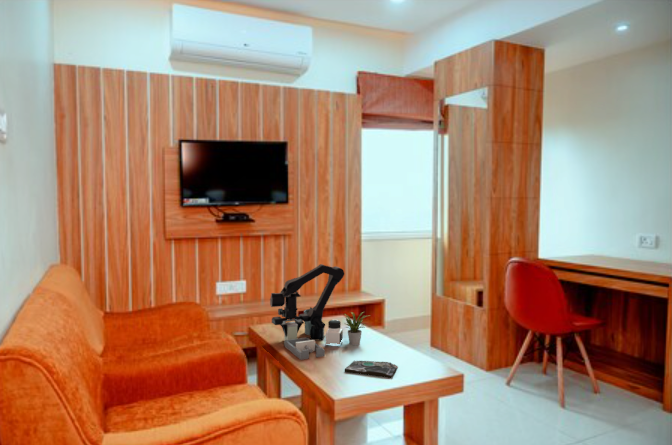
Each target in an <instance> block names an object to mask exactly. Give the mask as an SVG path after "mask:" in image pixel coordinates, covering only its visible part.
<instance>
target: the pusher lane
mask: <svg viewBox="0 0 672 445" xmlns="http://www.w3.org/2000/svg"><path fill="white" fill-rule="evenodd" d="M308 340H310V337H306V336H305V337H300V338H298V337H297V339H291V340H284V345H283V346H284V347H285V348H286V349H287V350H288V351H289V352H291V353H292V354H293V355H294V356H295V357H297V358H298V359H299V360H308V359H309V357H310V352H309V350H308V349H307V350H302V352H301V351H300V350H298V349H297V348H296V342H301V341H308ZM325 351H326V350H325V349H324V347H321V346H320V345H319V344H317V343H316V342H315V351H314V352H315V358H321V357H325V354H326V353H325Z"/></svg>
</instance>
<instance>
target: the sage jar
mask: <svg viewBox="0 0 672 445" xmlns="http://www.w3.org/2000/svg"><path fill="white" fill-rule="evenodd" d="M286 324H287V337H285V334H284V333H283V334H284V339H283V340H284V341H285V340H291V339H298V333H297V326H298V324H297V323H295V321H287V322H286Z"/></svg>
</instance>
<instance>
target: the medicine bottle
mask: <svg viewBox="0 0 672 445" xmlns="http://www.w3.org/2000/svg"><path fill="white" fill-rule="evenodd" d="M327 325H328V326H327V327H328V329H327V330H326V332H325V345H326V344H330V343H337V344H340V342H341V340H342V339H343V333H344V332H343V328H341V320H338V319H330V320H329V321H328V323H327Z"/></svg>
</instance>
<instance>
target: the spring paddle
mask: <svg viewBox="0 0 672 445" xmlns="http://www.w3.org/2000/svg"><path fill="white" fill-rule="evenodd" d="M315 343H316V340H308V341H301V342H296V346H295V347H296V348H297V349H298V350H300V351H301V352H302V350H307V349H308V350H309V354H311V353H313V352H316V351H315Z"/></svg>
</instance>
